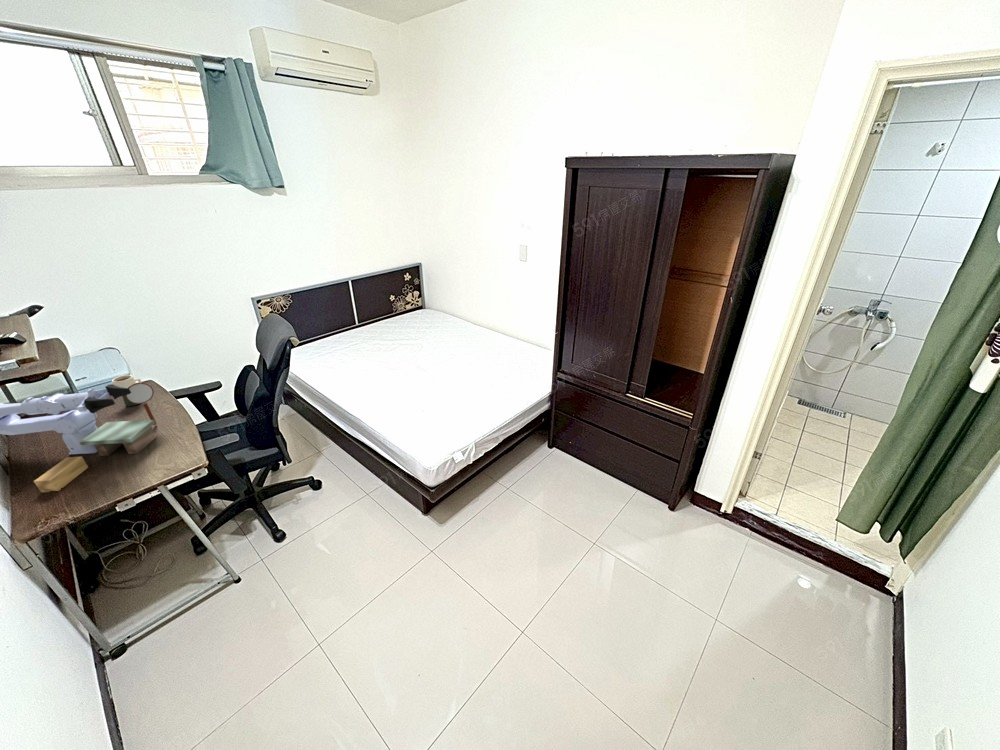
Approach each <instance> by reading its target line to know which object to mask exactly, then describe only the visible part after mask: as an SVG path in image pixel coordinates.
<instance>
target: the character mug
mask: <svg viewBox="0 0 1000 750" xmlns="http://www.w3.org/2000/svg"><path fill="white" fill-rule="evenodd" d="M136 381H137V382H136ZM111 383H112V384H113V385H115V386H117V387H123V388H128V387H129V386H131V385H133V384H135V383H143V382H142V380H141V378H139V377H137V378H134V376H133V375H132V374H123V375H120V376H117V377H114V378H113V379H112V380H111ZM121 397H122V400H123V403H124V405H125V406H127V407H129V406H136V405H137V404H135V403H131V402H129V401H128V400H127V399H126V397H125V395H124V396H121Z"/></svg>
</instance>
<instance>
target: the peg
mask: <svg viewBox="0 0 1000 750" xmlns="http://www.w3.org/2000/svg"><path fill="white" fill-rule="evenodd" d="M88 468H89V466H88V464H87V463H86V460H85V459H84V457H83V456H73V457H71V456H69V457H67V456H66V457H65V458H63V460H61V461H59V462H58V463H57V464H55V465H54V466H53V467H51V468H50V469H48V470H47V471H46V472H45V473H43V474H42V475H40V476H39V477H38V478H36V479H34V480H33V483H34V484H35V486H36V487H37V488H38V490H39V491H40V492H41V493H51V492H50V491H58V492H59V491H60V490H62V489H63V488H65V486H67V485H68V484H69V483H70V482H71V481H74V479H76V478H77V477H78V476H79V475H80V474H82V473H83V472H85V471H86V470H87V469H88ZM61 488H62V489H61Z"/></svg>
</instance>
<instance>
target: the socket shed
mask: <svg viewBox="0 0 1000 750" xmlns="http://www.w3.org/2000/svg"><path fill="white" fill-rule="evenodd" d="M155 421H156V420H155ZM155 421H154V420H150V419H145V420H141V419H140V420H126V421H125V420H124V421H123V420H121V421H119V420H118V421H106V422H105V423H103V424H102V425H101V426H99V427H97V428H98V429H96V430H95V431H94V432H92V433H91V434H89V435H88V436H87V437H85V438H84V439H82V440H81V441H79V443H80V444H81V445H94V446H95V448H96V450H97V451H98V452H97V453H98V455H99V456H100V457H101V456H102V457H103V456H110V455H111V454H112V453H114V452H115V451H116V450H117V449H118V448H120V447H121V446H122V445H123V447H124V448H125V450H126V451H127V453H128V455H138V454H139V453H140V452H141V451H142V450H143V449H144V448H146V447H147V446H148V445H149V444H150V443H152V441H154V440H155V439H156V438H157V435H156V433H155V430H154V428H153V426H154V424H155Z"/></svg>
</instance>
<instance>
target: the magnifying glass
mask: <svg viewBox="0 0 1000 750" xmlns="http://www.w3.org/2000/svg"><path fill="white" fill-rule="evenodd" d="M128 388H129V390H130V391H131V393H130V394H128V395H125V397H126V399H127V400H128V401H129V402H131V403H135V404H136V405H141V404H142V405H143V408H144V410H145V411H146V415H148V417H149V420H154V421H155V424H154V425H153V426H154V427H157V421H156V420H155V417H154V416H153V413H152V412H151V409H150V407H149V405H148V403H147V402H148V401H150V400H152V398H153V396H154V393H155V391H154V388H153V386H151V385H150V384H149V383H147V382H142V383H139V382H136V383H135V384H133V385H131V386H129V387H128Z"/></svg>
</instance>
